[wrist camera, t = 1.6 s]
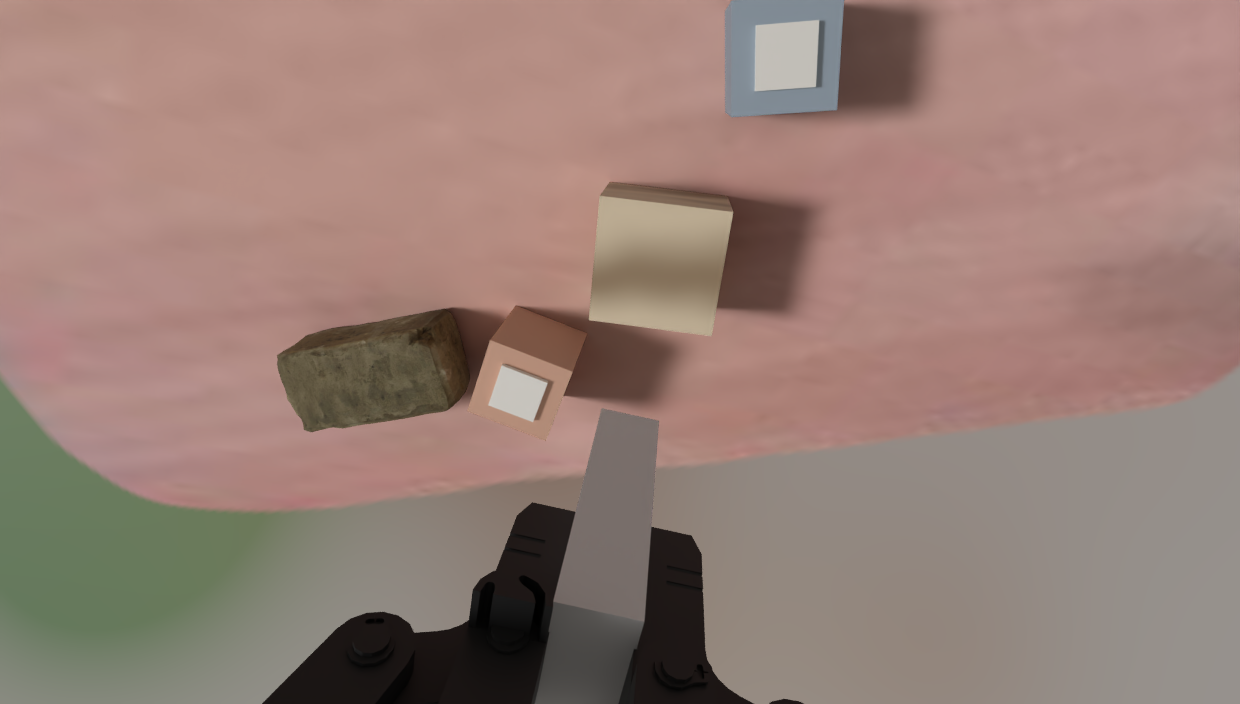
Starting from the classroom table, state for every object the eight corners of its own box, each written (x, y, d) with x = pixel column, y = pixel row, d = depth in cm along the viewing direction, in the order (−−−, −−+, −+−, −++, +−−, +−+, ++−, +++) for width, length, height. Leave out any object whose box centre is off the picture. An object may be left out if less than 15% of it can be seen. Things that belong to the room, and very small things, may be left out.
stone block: (482, 378, 43) (458, 413, 39) (335, 404, 45) (296, 440, 41) (454, 300, 41) (426, 327, 37) (302, 331, 43) (256, 361, 39)
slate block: (724, 11, 33) (731, 0, 28) (822, 3, 33) (846, -10, 28) (725, 112, 35) (731, 117, 30) (816, 106, 35) (838, 110, 30)
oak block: (610, 181, 37) (599, 195, 33) (727, 195, 37) (733, 212, 32) (599, 292, 40) (588, 319, 36) (708, 306, 40) (711, 336, 35)
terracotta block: (516, 305, 41) (488, 342, 35) (587, 333, 41) (571, 374, 35) (494, 369, 43) (465, 413, 37) (563, 395, 43) (544, 443, 37)
